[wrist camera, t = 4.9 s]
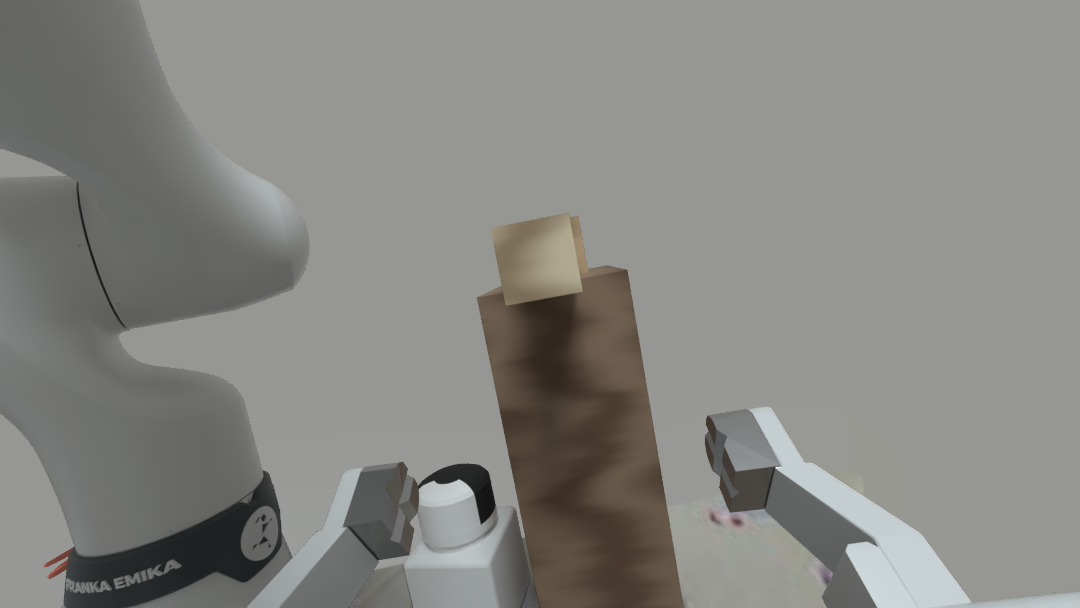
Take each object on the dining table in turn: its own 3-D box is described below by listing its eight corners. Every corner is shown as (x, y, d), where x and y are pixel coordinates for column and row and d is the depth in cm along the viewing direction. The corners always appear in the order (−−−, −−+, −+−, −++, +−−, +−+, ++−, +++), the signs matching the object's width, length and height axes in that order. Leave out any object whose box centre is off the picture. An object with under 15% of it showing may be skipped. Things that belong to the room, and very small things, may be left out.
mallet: (480, 310, 17) (459, 206, 16) (525, 280, 37) (517, 234, 36) (609, 287, 16) (590, 180, 16) (584, 270, 36) (576, 222, 36)
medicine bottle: (458, 579, 40) (430, 457, 39) (531, 579, 38) (505, 451, 37) (420, 649, 33) (386, 503, 32) (507, 653, 31) (475, 499, 30)
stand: (555, 686, 28) (476, 297, 26) (558, 559, 40) (504, 284, 38) (694, 670, 28) (627, 269, 25) (655, 546, 40) (607, 265, 37)
